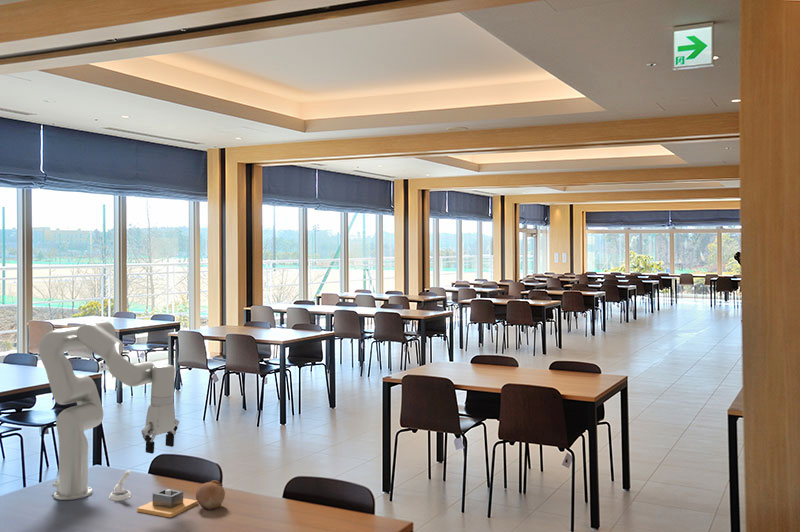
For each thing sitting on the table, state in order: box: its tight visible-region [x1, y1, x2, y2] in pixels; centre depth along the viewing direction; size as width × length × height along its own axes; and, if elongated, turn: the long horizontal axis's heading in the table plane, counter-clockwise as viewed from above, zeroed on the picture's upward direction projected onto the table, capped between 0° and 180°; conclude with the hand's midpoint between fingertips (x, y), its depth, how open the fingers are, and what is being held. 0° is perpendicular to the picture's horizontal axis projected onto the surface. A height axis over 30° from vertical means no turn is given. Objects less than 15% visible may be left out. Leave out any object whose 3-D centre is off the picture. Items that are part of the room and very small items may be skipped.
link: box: [152, 488, 184, 509], centre depth 236 cm, size 8×6×4 cm
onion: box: [195, 479, 226, 510], centre depth 236 cm, size 10×9×10 cm
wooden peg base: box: [136, 488, 199, 518], centre depth 236 cm, size 14×14×6 cm
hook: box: [108, 469, 133, 502], centre depth 246 cm, size 8×12×7 cm
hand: (159, 449), depth 239 cm, fingers open, 9 cm apart
